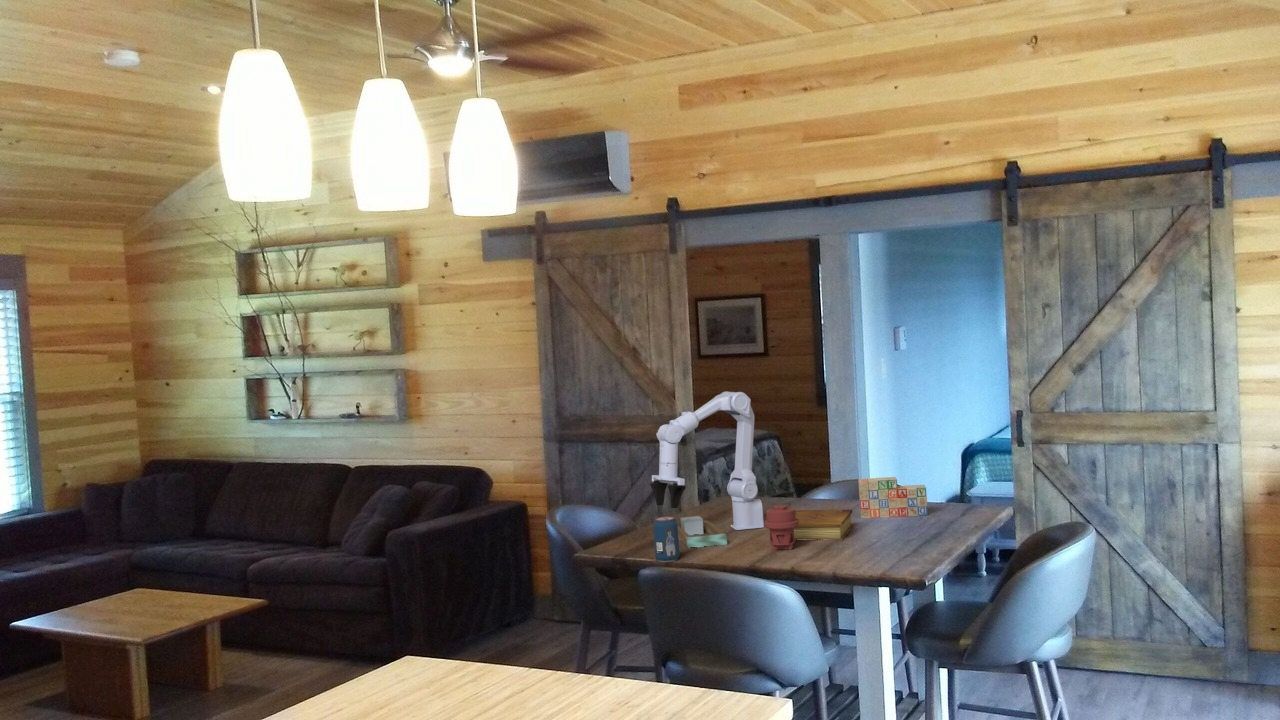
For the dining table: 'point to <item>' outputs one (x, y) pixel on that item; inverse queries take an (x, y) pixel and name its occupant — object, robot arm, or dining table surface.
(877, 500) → the stack of blocks
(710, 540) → the bay
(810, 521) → the diary
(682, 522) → the box
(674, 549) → the soda can
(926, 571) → the dining table surface
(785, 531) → the mechanical component
